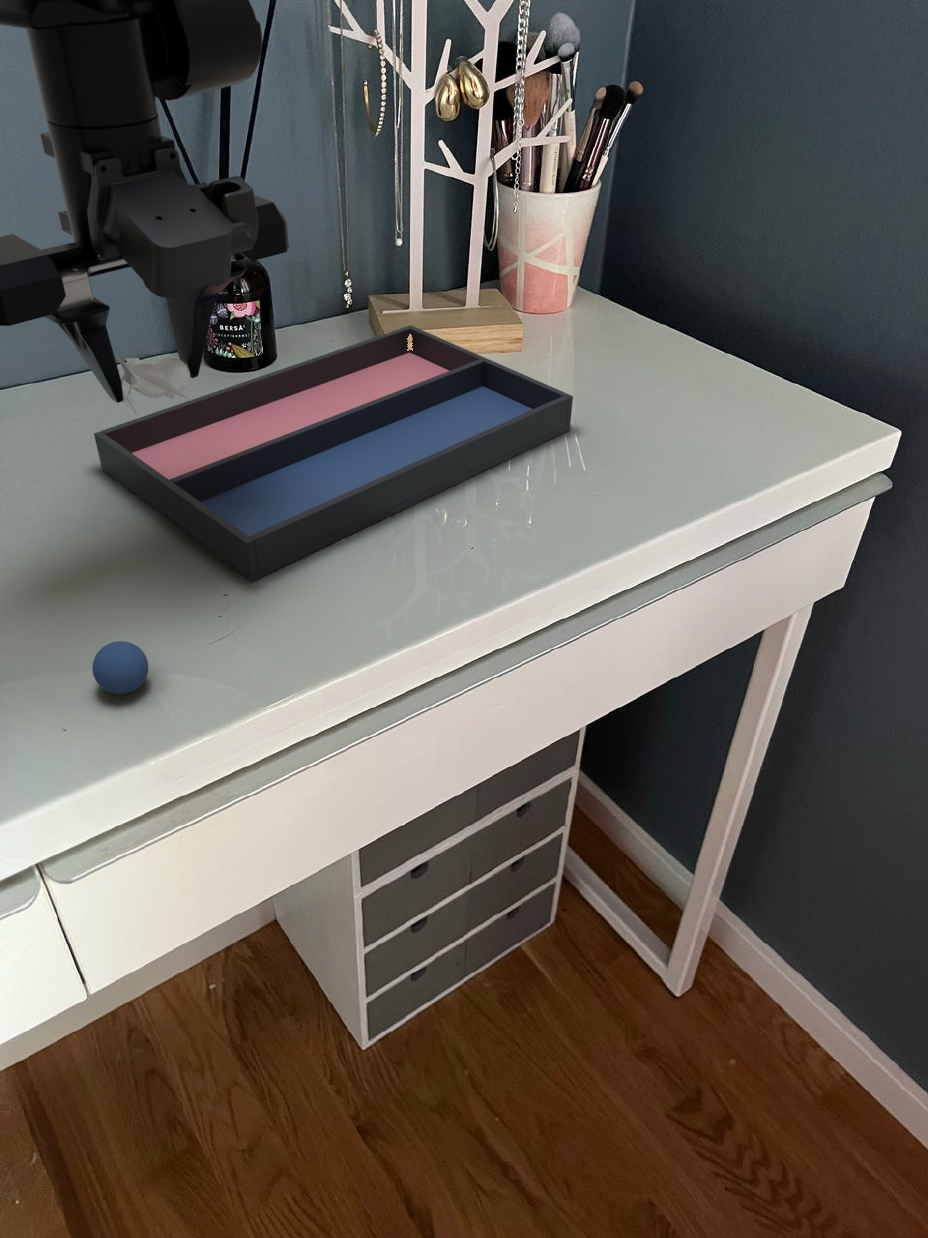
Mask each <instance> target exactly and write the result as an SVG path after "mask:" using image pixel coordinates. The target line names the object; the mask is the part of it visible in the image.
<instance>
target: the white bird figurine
mask: <svg viewBox="0 0 928 1238" xmlns="http://www.w3.org/2000/svg"><path fill="white" fill-rule="evenodd" d="M114 357H115V360H116V362H118V363H119V364H120V366H121V368H122V370H123V374H122V376H120V378H121V383H122V385H123V383H124V382H126V383H127V384H128V385H129V389H128V393H127V392H126V391H125V390H124V389H122V391H123V401H122V404H123V406H124V407H125V406H126V409H129V408H131V411H132V414H135V416H136V417H138V415H139V410H138V408H137V406H136V404H135V403H134V402H133V400H132V398H131V396H132V392H133V389H134V390H135V391H136V392H137V393H139V394H141V395H142V396H144V397H147V398H152V399H153V398H154V399H158V398H159V399H160V398H162V397H166V398H170V399H172V400H173V399H174V397H175V396H176V395H177V396H179V397H181V398H184V399H186V400H187V401H190V400H191V401H192V400H193V399H191V398H189V397H188V396H187V395H186V394H185V393H184V391H185V390H186V389H187V387H189V385H190V381H191V377H190V371H189V368H188V366H187V363H186V364H185V363H184V362H183V361H181V360H180V358H178V357H166V358H164V359H162V360H160V361H159V362H157V363H156V364H154V363H144V362H143V361H142V360H140V359H139V358H138V357H129V358H128V357H126V358H125V361H126V362H125V361H124V360H123V359H121V358H119V357H118V356H117V355H116V354H114ZM185 362H186V361H185ZM193 402H194V401H193Z"/></svg>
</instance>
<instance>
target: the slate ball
mask: <svg viewBox="0 0 928 1238" xmlns="http://www.w3.org/2000/svg"><path fill="white" fill-rule="evenodd" d="M148 672H149V661H148V658H147V655H146V654H145V651H143V649H141V648H140V647H139V646H138V645H136V644H135V643H132V642H130V641H126V640H125V641H124V640H118V641H112V642H109V643H107V644H106V645H104V646H102V647H101V648H100V649H99V650H98V651H97V652H96V654H95V656H94V658H93V661H92V676H93V678H94V680H95V682H96V683H97V684H98V686H99V687H100V688H102V689H103V690H105V691H106V692H109V693H111V694H115V695H125V694H129V693H131V692H135V690H137V689H139V688H140V687H141V686H142V685H143V684H144V682H145V681H146V679H147V676H148V674H149V673H148Z"/></svg>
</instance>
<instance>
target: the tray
mask: <svg viewBox="0 0 928 1238" xmlns="http://www.w3.org/2000/svg"><path fill="white" fill-rule="evenodd" d="M409 334H411V335H412V338H413V339H412V340H413V341H412V343H413V344H412V345H413V346H412V348H413V351H412V350H409V351H407V349H408V347H407V346H408V345H407V344H408V342H407V341H408V340H407V338H408V336H409ZM191 400H192V401H191ZM191 400H187V401H184V402H181V403H178V404H176V405H173V406H170V407H166V408H164V409H160V410H158V411H155V412H152V413H149V414H147V415H143V416H140V417H137V418H134V419H132V420H129V421H126V422H123V423H119V424H117V425H114V426H111V427H108V428H105V429H102V430H101V431H100V430H99V431H97V432H94V433H93V436H94V440H95V444H96V449H97V453H98V454H97V455H98V459H99V461H100V466H101V470H102V471H104V472H105V473H107V475H109V476H110V477H112V478H113V479H114V480H116V481H117V482H118V483H120V484H121V485H122V486H123V487H125V488H127V489H128V490H129V491H130V492H132V493H133V494H135V495H136V496H137V497H138V498H139V499H141V500H143V501H144V502H145V504H148V505H149V506H150V507H152V508H153V509H154V510H156V511H157V512H159V513H160V514H161V515H162V516H164V517H165V518H166V519H167V520H168V521H170V522H171V523H173V524H174V525H176V526H177V527H178V528H179V529H181V530H182V531H183V532H185V533H186V534H187V535H189V536H190V537H191V538H193V539H194V540H196V542H198V543H200V544H201V545H202V546H204V547H205V548H206V549H207V550H208V551H210V552H211V553H213V554H214V555H216V556H217V557H218V558H219V559H221V560H222V561H223V562H225V564H227V565H229V566H230V567H231V568H232V569H234V570H235V571H237V572H238V573H240V575H242V576H243V577H245V579H247V580H249V581H250V582H252V583H253V582H255V581H257V580H259V579H261V578H263V577H266V576H267V575H269V574H271V573H273V572H276V571H277V570H280V569H282V568H284V567H286V566H288V565H290V564H293V563H294V562H296V561H298V560H300V559H304V557H307V556H309V555H311V554H313V553H315V552H318V551H319V550H322V549H324V548H326V547H328V546H330V545H332V544H334V543H336V542H338V541H340V540H343V539H344V538H347V537H349V536H351V535H353V534H355V533H358V532H359V531H362V530H364V529H365V528H367V527H370V526H371V525H374V524H376V523H378V522H380V521H382V520H384V519H386V518H388V517H390V516H393V515H395V514H397V513H398V512H401V511H404V510H406V509H408V508H410V507H411V506H413V505H416V504H418V503H420V502H422V501H424V500H427V499H429V498H430V497H433V496H435V495H437V494H438V493H441V492H443V491H445V490H447V489H449V488H451V487H453V486H455V485H458V484H459V483H462V482H464V481H466V480H468V479H470V478H472V477H474V476H476V475H478V474H480V473H482V472H485V471H487V470H489V469H491V468H493V467H495V466H497V465H500V464H501V463H504V462H506V461H509V460H510V459H512V458H514V457H517V456H519V455H520V454H522V453H524V452H526V451H529V450H531V449H533V448H535V447H537V446H539V445H541V444H543V443H545V442H548V441H550V440H552V439H555V438H556V437H558V436H560V435H562V434H564V433H567V432H569V431H570V430H571V422H572V411H573V401H574V395H571V394H569V393H567V392H565V391H562V390H561V389H558V388H555V387H553V386H551V385H548V384H546V383H544V382H542V381H539V380H538V379H535V378H533V377H530V376H529V375H526V374H523V373H521V372H519V371H517V370H514V369H512V368H510V367H507V366H505V365H503V364H501V363H498V362H496V361H494V360H491V359H489V358H487V357H484V356H483V355H480V354H477V353H475V352H473V351H471V350H469V349H466V348H465V347H461V346H459V345H457V344H455V343H452V342H451V341H448V340H445V339H443V338H441V337H439V336H437V335H435V334H432V333H429V332H428V331H425V330H423V329H420V328H418V327H416V326H414V325H412V324H410V325H407V326H404V327H401V328H398V329H396V330H392V331H389V332H386V333H383V334H381V335H377V336H375V337H372V338H368V339H366V340H363V341H360V342H357V343H354V344H351V345H348V346H345V347H343V348H342V347H341V348H339V349H337V350H334V351H330V352H327V353H325V354H322V355H319V356H317V357H316V356H315V357H312V358H311V359H307V360H305V361H302V362H299V363H295V364H293V365H290V366H286V367H284V368H280V369H278V370H275V371H271V372H269V373H266V374H264V375H260V376H258V377H255V378H252V379H248V380H245V381H243V382H240V383H237V384H234V385H231V386H228V387H225V388H222V389H220V390H217V391H213V392H211V393H208V394H204V395H202V396H199V397H196V398H193V399H191ZM193 401H194V402H193Z"/></svg>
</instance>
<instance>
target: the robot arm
mask: <svg viewBox="0 0 928 1238" xmlns="http://www.w3.org/2000/svg"><path fill="white" fill-rule="evenodd" d="M0 26H4V27H5V26H6V27H11V28H19V29H25V30H26V35H27V41H28V44H29V48H30V51H31V58H32V61H33V66H34V70H35V76H36V80H37V83H38V84H37V85H38V89H39V93H40V98H41V101H42V106H43V111H44V115H45V121H46V126H47V129H48V132H43V133H40V134H39V135H40V139H41V142H42V143H41V144H42V147H43V153H44V155H46V156H49V157H51V158H53V159H54V161H55V166H56V170H57V173H58V178H59V183H60V187H61V192H62V196H63V200H64V205H65V210H62V211H58V212H57V213H58V218H59V222H60V226H61V230H62V232H65V233H66V234H69V235H70V236H72V240H73V242H69V243H65V244H60V245H55V246H52V247H51V246H50V247H47V248H43V249H41V248H39V247H37V246H35V245H34V244H32V243H30V242H29V241H27V240H24V239H23V238H22V237H20V236H17V235H16V234H14V233H11V234H7V235H1V236H0V327H10V326H14V325H18V324H21V323H26V322H29V321H33V320H37V319H41V318H44V317H45V318H46V319H48V320H49V321H51V322H52V323H54V324H57V325H58V327H59V328H60V329H61V330H62V331H63V332H64V334H65V335H66V336H67V338H68V339H69V340H70V342H71V343H72V345H73V346H74V348H75V349H76V350H77V352H78V353H79V355H80V356H81V357H82V359H83V361H84V362H85V363H86V365H87V366H88V368H89V369H90V371H91V372H92V374H93V375H94V376H95V378H96V379H97V380H98V382H99V384H100V385H101V387H102V388H103V389H104V391H105V392H106V393H107V395H108V397H109V398H110V399H111V400H112V401H114V402H115V403H117V404H119V403H123V391H122V390H123V384H122V383H121V374H120V371H119V367H118V365H117V360H116V359H115V357H114V355H115V354H114V350H113V347H112V343H111V339H110V335H109V332H108V329H107V321H108V318H109V314H110V309H111V307H110V305H108V304H106V303H105V302H103V301H102V300H100V299H98V298H96V297H95V296H94V293H93V288H92V285H91V279H90V278H92V277H96V276H100V275H103V274H107V273H111V272H115V271H120V270H123V269H128V268H131V269H132V270H133V271H134V272H135V273H136V275H137V276H138V277H139V278H140V279H141V280H142V282H143V284H144V286H145V288H146V289H148V291H149V292H151V294H153V295H155V296H157V297H160V298H164V299H165V301H166V306H167V310H168V314H169V315H168V316H169V319H170V325H171V329H172V333H173V339H174V343H175V347H176V348H175V349H176V352H177V355H178V357H179V358H178V359H179V360H181V361H183V362H184V363H185V364H186V363H187V366H188V368H189V371H190V379H195V378H197V377H199V375H200V371H201V366H202V360H203V356H204V351H205V347H206V341H207V338H208V334H209V333H208V332H209V329H210V324H211V319H212V316H213V313H214V309H215V306H216V303H217V301H218V298H219V296H220V295H221V292H222V291H223V290H225V288H226V287H227V286H228V285H229V284H230V283H231V282H232V281H233V280H235V279H237V278H241V277H242V276H244V274H245V272H246V270H247V269H246V268H247V267H246V265H244V264H242V263H239V262H238V261H236V260H233V255H235V254H239V255H241V256H242V257H244V258H245V259H246V260H248V261H251V262H255V261H258V260H262V259H265V258H270V257H274V256H278V255H281V254H285V253H288V251H289V249H290V245H289V234H288V223H287V220H286V218H285V216H284V214H283V212H282V210H281V209H280V208H279V206H278V205H277V204H276V203H275V202H274V201H272V200H269V199H266V198H264V197H261V196H258V195H256V194H254V193H255V192H254V189H253V188H252V186H251V185H249V184H248V183H247V181H246V180H245V179H243V177H241V176H239V175H236V176H230V177H226V178H222V179H221V178H220V179H216V180H213V181H211V182H209V183H207V182H200V183H196V184H190V183H189V182H188V180H187V179H186V175H185V174H184V171H183V169H182V167H181V161H180V160H181V159H180V153H179V152H178V151H177V149H176V145H175V140H174V139H172V138H169V137H167V136H164V135H162V131H161V125H160V120H159V113H158V106H157V99H156V98H158V99H159V100H162V101H169V102H170V101H175V100H180V99H184V98H188V97H191V96H196V95H200V94H204V93H207V92H213V91H216V90H219V89H224V88H227V87H231V86H235V85H240V84H243V83H244V82H246V81H248V80H249V79H250V78H251V77H253V75H254V73H255V72H256V71H257V68H258V66H259V63H260V61H261V56H262V51H263V35H262V26H261V23H260V21H259V20H258V19H257V16H256V13H255V11H254V7H253V6H252V4H251V2H250V0H0ZM185 361H186V362H185Z"/></svg>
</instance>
